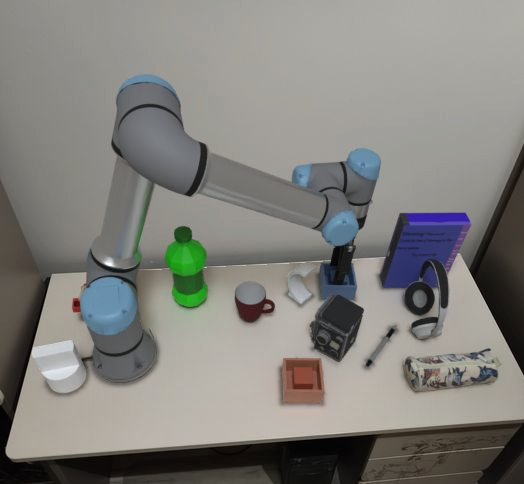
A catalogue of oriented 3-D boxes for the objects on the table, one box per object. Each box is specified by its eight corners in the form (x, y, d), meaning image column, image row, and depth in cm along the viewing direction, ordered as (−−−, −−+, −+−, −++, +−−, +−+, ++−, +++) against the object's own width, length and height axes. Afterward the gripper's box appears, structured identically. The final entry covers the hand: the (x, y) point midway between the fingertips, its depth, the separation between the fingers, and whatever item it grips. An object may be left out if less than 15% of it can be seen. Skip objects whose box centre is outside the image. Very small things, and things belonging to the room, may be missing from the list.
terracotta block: (293, 393, 118) (294, 383, 114) (291, 376, 120) (293, 367, 117) (311, 393, 118) (313, 383, 114) (310, 376, 121) (312, 367, 117)
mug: (273, 305, 135) (275, 280, 128) (274, 328, 130) (276, 304, 123) (234, 305, 135) (234, 281, 127) (235, 328, 130) (234, 304, 122)
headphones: (442, 350, 127) (469, 301, 112) (410, 350, 127) (433, 301, 112) (426, 295, 140) (448, 243, 124) (396, 294, 140) (416, 243, 124)
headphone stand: (300, 304, 136) (305, 275, 127) (285, 292, 138) (288, 263, 129) (311, 296, 138) (316, 266, 129) (296, 284, 141) (300, 254, 131)
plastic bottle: (169, 312, 132) (157, 245, 113) (176, 284, 139) (166, 216, 120) (206, 315, 132) (200, 248, 113) (211, 286, 139) (206, 218, 120)
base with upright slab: (85, 357, 122) (73, 329, 113) (87, 388, 117) (74, 361, 108) (48, 365, 121) (32, 337, 111) (48, 396, 115) (31, 369, 106)
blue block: (329, 292, 139) (331, 281, 135) (327, 280, 142) (330, 269, 138) (345, 292, 139) (347, 281, 135) (343, 280, 142) (345, 269, 138)
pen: (364, 365, 124) (365, 362, 123) (394, 324, 132) (395, 321, 131) (369, 368, 123) (370, 365, 122) (398, 327, 132) (399, 324, 131)
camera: (322, 322, 132) (330, 285, 121) (356, 341, 129) (368, 305, 117) (301, 347, 127) (307, 311, 115) (337, 368, 123) (347, 333, 111)
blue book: (437, 275, 145) (465, 211, 127) (441, 287, 142) (471, 224, 124) (379, 275, 144) (399, 212, 126) (382, 288, 141) (404, 224, 123)
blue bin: (321, 299, 137) (323, 286, 133) (318, 275, 143) (321, 262, 139) (353, 299, 138) (357, 286, 134) (349, 275, 144) (353, 262, 139)
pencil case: (478, 361, 126) (493, 339, 118) (492, 390, 120) (508, 369, 113) (396, 369, 123) (406, 347, 116) (406, 399, 118) (418, 378, 110)
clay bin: (283, 402, 116) (284, 391, 112) (281, 369, 122) (283, 357, 118) (321, 403, 117) (324, 391, 112) (318, 370, 122) (321, 358, 118)
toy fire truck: (99, 290, 137) (91, 266, 129) (93, 329, 128) (84, 306, 121) (86, 291, 136) (78, 267, 129) (80, 330, 128) (70, 307, 120)
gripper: (373, 238, 113) (353, 301, 130) (361, 186, 125) (345, 250, 143) (341, 237, 112) (326, 301, 130) (332, 185, 125) (319, 249, 142)
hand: (336, 274), depth 136 cm, fingers open, 7 cm apart
